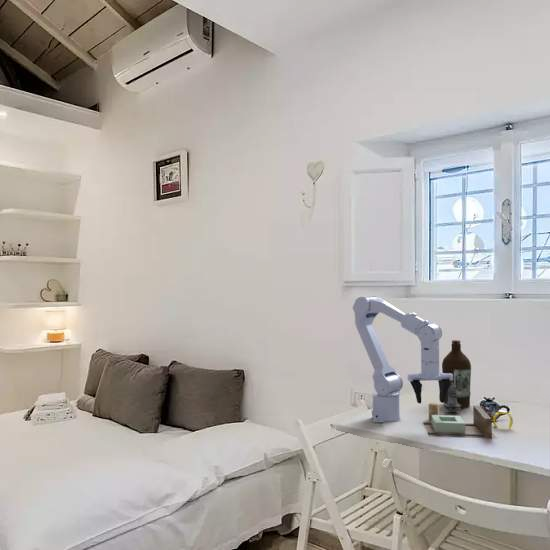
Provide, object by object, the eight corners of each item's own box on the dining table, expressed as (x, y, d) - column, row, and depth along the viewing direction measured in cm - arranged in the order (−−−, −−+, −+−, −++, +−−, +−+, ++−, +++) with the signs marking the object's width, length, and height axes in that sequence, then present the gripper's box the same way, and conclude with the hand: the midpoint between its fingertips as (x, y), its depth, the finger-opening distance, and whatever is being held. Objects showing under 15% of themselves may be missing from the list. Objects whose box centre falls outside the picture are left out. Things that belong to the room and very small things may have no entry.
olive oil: (437, 403, 204) (436, 339, 204) (461, 401, 207) (460, 338, 207) (452, 409, 194) (451, 342, 194) (477, 407, 196) (476, 341, 196)
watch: (510, 428, 170) (511, 410, 170) (513, 431, 168) (514, 412, 168) (491, 427, 171) (492, 409, 171) (494, 429, 168) (495, 411, 168)
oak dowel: (429, 422, 177) (429, 405, 177) (428, 420, 180) (427, 402, 180) (439, 423, 177) (438, 405, 177) (437, 420, 180) (437, 403, 180)
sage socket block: (435, 432, 163) (435, 422, 163) (431, 424, 172) (431, 414, 172) (465, 434, 162) (465, 423, 162) (459, 425, 171) (459, 415, 171)
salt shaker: (462, 417, 184) (461, 383, 184) (445, 416, 185) (444, 382, 185) (459, 412, 189) (459, 380, 189) (443, 412, 190) (442, 379, 191)
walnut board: (428, 438, 160) (428, 416, 160) (422, 423, 176) (422, 404, 176) (497, 440, 157) (496, 418, 157) (484, 425, 173) (484, 405, 173)
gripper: (412, 363, 166) (412, 406, 166) (456, 362, 167) (457, 404, 167) (405, 359, 173) (405, 400, 173) (447, 359, 174) (448, 399, 174)
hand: (430, 402), depth 170 cm, fingers open, 7 cm apart
